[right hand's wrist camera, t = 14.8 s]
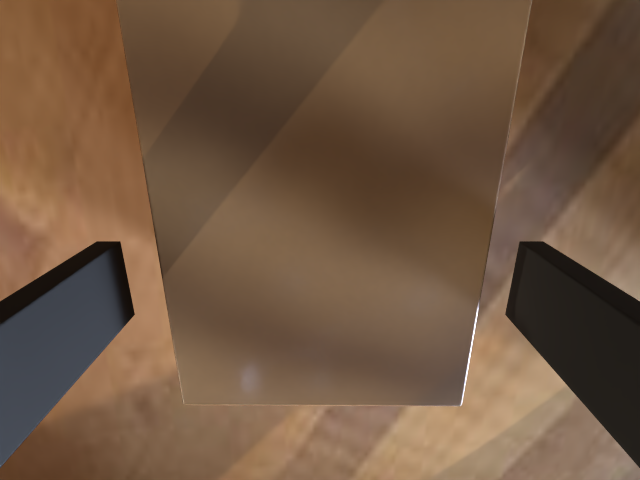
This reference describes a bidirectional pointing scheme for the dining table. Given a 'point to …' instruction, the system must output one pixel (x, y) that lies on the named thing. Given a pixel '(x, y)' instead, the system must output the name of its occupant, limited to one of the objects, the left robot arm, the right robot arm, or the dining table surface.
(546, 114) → the dining table surface
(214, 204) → the cabinet
